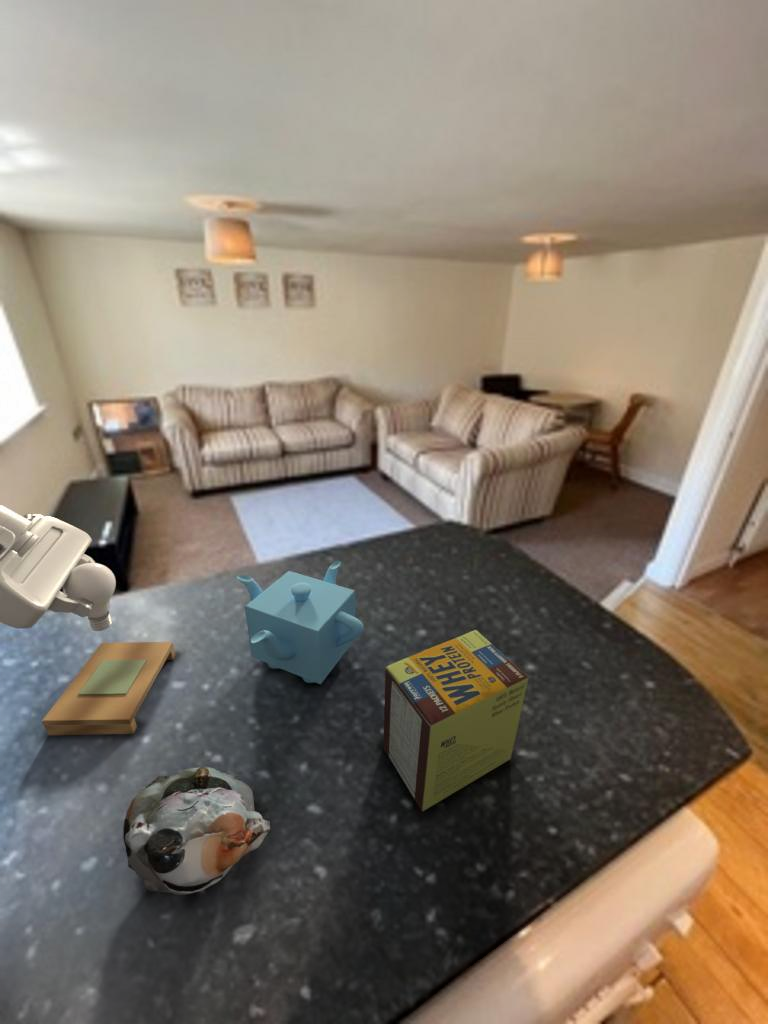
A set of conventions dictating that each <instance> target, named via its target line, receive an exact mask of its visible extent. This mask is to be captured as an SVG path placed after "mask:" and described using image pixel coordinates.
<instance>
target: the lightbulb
mask: <svg viewBox="0 0 768 1024" xmlns="http://www.w3.org/2000/svg"><path fill="white" fill-rule="evenodd" d="M116 586H117V580H116V576H115V574H114V573H113V571H112V570H111V569H110V568H109V567H108V566H106V565H104V564H101V563H99V562H95V563H85V564H81V565H79V566H77V567H75V568H73V570H72V571H71V574H70V576H69V577H68V579H67V580H66V582H65V583H64V585H63V586H62V592H63V593H65V594H67V595H68V596H67V597H66V598H70V599H76V600H81V599H82V598H85V599H87V600H88V601H91V602H93V603H94V605H93V607H92V609H91V611H90V612H89V614H88V615H87V616H86V617H87V619H88V621H89V624H90V629H91V630H92V631H94V632H102V631H104V630H107V629H108V628H110V627H111V626H112V625H113V620H112V616H111V613H110V608H111V599H112V597H113V596H114V593H115V590H116V588H117V587H116Z"/></svg>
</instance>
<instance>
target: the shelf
mask: <svg viewBox="0 0 768 1024" xmlns="http://www.w3.org/2000/svg"><path fill="white" fill-rule="evenodd" d="M175 657H176V652H175V648H174V642H173V641H149V642H148V641H135V642H134V641H128V642H127V641H123V642H122V641H121V642H119V641H117V642H116V641H115V642H113V641H112V642H111V641H109V642H101V643H100V645H99V646H98V647H97V648H96V650H95V651H94V652H93V653H92V655H91V656H90V657H89V659H88V660H87V661H86V662H85V664H84V665H83V667H82V668H81V669H80V670H79V672H78V673H77V674H76V676H75V677H74V679H72V681H71V682H70V683H69V685H67V687H66V689H65V690H64V691H63V692H62V694H61V695H60V697H59V698H58V699H57V701H56V702H55V703H54V704H53V706H52V707H51V709H50V710H49V711H48V712H47V714H46V715H44V717H43V719H42V720H41V722H42V725H43V727H44V729H45V731H46V734H47V735H48V736H79V735H80V736H85V735H87V736H88V735H133V734H135V732H136V730H137V728H138V725H137V722H136V718H135V717H136V716H137V713H138V711H139V710H140V708H141V706H142V705H143V703H144V700H145V699H146V697H147V695H148V694H149V692H150V689H151V688H152V686H153V685H154V683H155V681H156V679H157V677H158V675H159V673H160V672H161V670H162V668H163V666H164V664H165V663H166V661H172V660H174V658H175Z"/></svg>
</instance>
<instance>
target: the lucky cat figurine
mask: <svg viewBox="0 0 768 1024" xmlns="http://www.w3.org/2000/svg"><path fill="white" fill-rule="evenodd" d="M254 799H255V798H254V794H253V790H252V788H251V787H250V786H249V784H247V783H246V782H245V781H242V780H241V778H240V777H239V776H238V775H236V776H235V775H231V774H228V773H226V772H221V771H220V770H219V769H218V768H216V769H215V768H214V767H210V766H198V767H188V768H186V769H183V770H181V771H179V772H178V773H176V774H175V775H170V776H169V775H168V776H167V775H159V776H157V777H156V778H155V779H154V780H153V781H151V782H150V783H148V784H147V785H146V786H145V787H144V788H142V789H141V790H140V791H139V792H138V793H137V794H136V795H135V796H134V798H133V799H132V800H131V802H130V804H129V806H128V809H127V810H126V814H125V818H124V820H123V821H124V822H123V829H122V833H123V834H122V839H123V843H124V847H125V855H126V858H127V866H128V868H129V869H131V870H132V871H133V872H134V873H135V874H136V876H138V878H139V879H141V881H142V882H143V885H144V886H145V888H146V890H149V891H150V892H152V893H165V894H174V895H178V896H184V895H185V896H186V895H191V894H194V893H198V892H199V893H200V892H202V891H204V890H205V889H207V888H209V887H211V886H213V885H215V884H217V883H218V882H220V881H221V880H222V879H223V878H224V877H225V876H226V875H227V874H228V873H229V872H230V870H231V869H232V867H233V866H234V865H236V864H237V863H239V861H240V860H241V859H242V857H244V856H245V855H246V854H248V853H250V852H252V851H254V850H256V849H258V848H259V847H260V845H261V844H262V843H263V841H264V839H265V838H266V836H267V835H268V833H269V832H270V831H271V826H270V824H271V822H270V820H266V819H264V818H263V816H262V814H261V813H260V812H258V811H256V810H255V800H254Z"/></svg>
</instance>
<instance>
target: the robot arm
mask: <svg viewBox="0 0 768 1024" xmlns="http://www.w3.org/2000/svg"><path fill="white" fill-rule="evenodd" d="M92 542H93V539H92V537H91V536H90V535H89V534H88V533H87V532H86V531H84V530H82V529H80V528H78V527H76V526H75V525H72V524H70V523H67V522H65V521H64V520H61V519H59V518H56V517H53V516H49V515H42V514H40V513H37V514H34V513H32V514H31V513H26V514H24V515H20V514H19V513H16V512H15V511H14V510H11V508H8V507H6V506H4V505H2V504H0V623H1V624H4V625H7V626H9V627H12V628H14V629H31V628H33V627H34V626H35V625H36V624H37V623H38V621H39V620H40V619H41V618H42V617H44V615H45V614H46V613H47V611H48V610H49V611H52V612H54V613H65V614H66V613H67V614H74V615H76V616H78V617H80V618H85V617H88V616H87V615H88V614H89V612H90V611H91V609H92V607H93V605H94V603H93V602H91V601H88V600H87V599H85V598H82V599H81V600H76V599H70V598H66V597H67V596H68V595H67V594H65V593H63V591H61V590H62V589H63V585H64V583H65V582H66V580H67V579H68V577H69V576H70V574H71V571H72V570H73V568H75V567H77V566H79V565H81V564H85V563H96V561H95V560H94V559H93V558H92V557H91V556H89V555H87V554H86V553H85V552H86V551H87V549H88V548H89V546H90V545H91V543H92Z"/></svg>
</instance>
